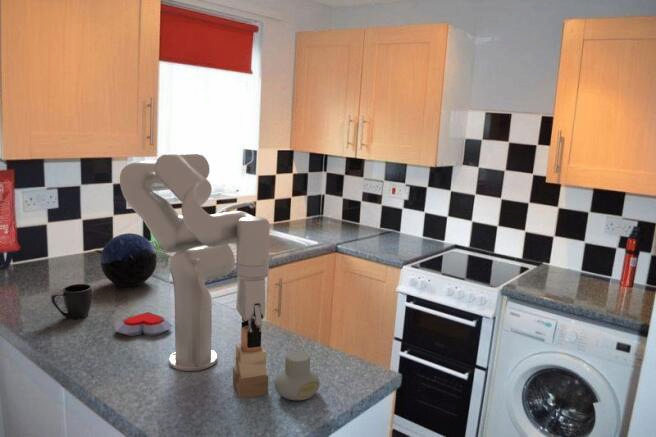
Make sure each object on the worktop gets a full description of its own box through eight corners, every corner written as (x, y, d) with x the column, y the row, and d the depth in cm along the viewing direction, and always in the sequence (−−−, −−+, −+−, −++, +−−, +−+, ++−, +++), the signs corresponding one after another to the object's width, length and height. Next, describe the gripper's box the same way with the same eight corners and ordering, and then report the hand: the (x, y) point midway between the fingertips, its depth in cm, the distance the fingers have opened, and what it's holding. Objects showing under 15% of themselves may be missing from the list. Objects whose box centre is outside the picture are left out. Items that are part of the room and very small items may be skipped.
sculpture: (121, 320, 169) (110, 339, 154) (121, 309, 168) (109, 327, 154) (176, 319, 172) (170, 338, 157) (176, 308, 171) (169, 327, 156)
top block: (235, 367, 131) (235, 344, 130) (259, 364, 133) (259, 341, 132) (241, 378, 125) (241, 355, 124) (265, 374, 128) (266, 351, 127)
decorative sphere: (130, 274, 215) (129, 226, 211) (168, 283, 206) (167, 233, 203) (89, 287, 197) (87, 235, 193) (129, 297, 189) (127, 243, 185)
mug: (47, 318, 167) (45, 289, 165) (86, 309, 176) (84, 282, 174) (57, 326, 162) (56, 296, 160) (97, 316, 170) (95, 288, 169)
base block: (232, 385, 132) (233, 366, 131) (260, 380, 135) (260, 362, 134) (239, 399, 126) (239, 379, 125) (267, 394, 128) (268, 375, 128)
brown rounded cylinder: (239, 345, 130) (239, 326, 129) (258, 343, 131) (258, 324, 130) (243, 353, 125) (243, 334, 124) (262, 351, 127) (263, 332, 126)
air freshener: (302, 381, 136) (304, 344, 134) (324, 394, 130) (326, 356, 128) (268, 394, 128) (269, 356, 126) (289, 409, 122) (291, 369, 120)
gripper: (229, 260, 131) (228, 329, 134) (245, 281, 115) (243, 359, 119) (258, 258, 134) (257, 326, 137) (278, 279, 118) (275, 354, 122)
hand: (250, 340), depth 128 cm, fingers open, 5 cm apart
